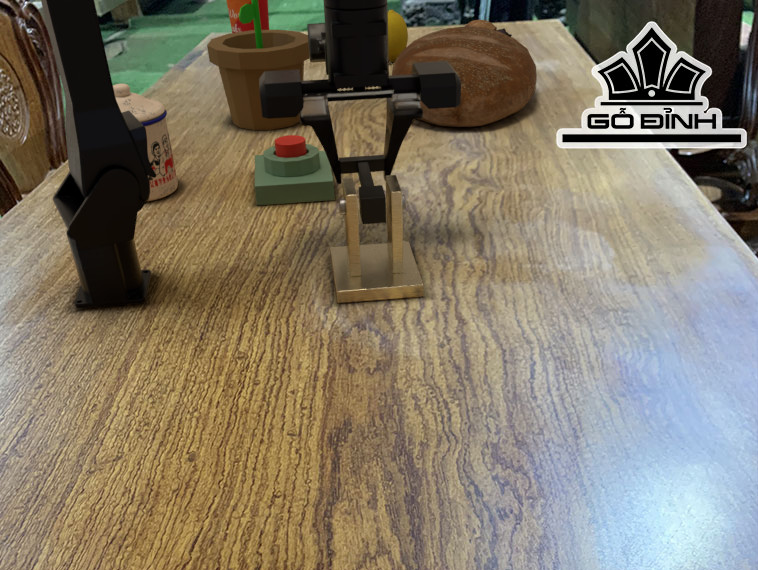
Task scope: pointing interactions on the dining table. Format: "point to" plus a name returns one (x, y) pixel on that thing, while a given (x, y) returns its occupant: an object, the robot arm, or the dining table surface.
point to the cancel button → (290, 146)
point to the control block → (293, 177)
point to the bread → (475, 73)
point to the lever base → (374, 253)
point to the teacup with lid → (152, 139)
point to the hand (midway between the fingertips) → (362, 181)
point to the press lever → (367, 186)
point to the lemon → (396, 35)
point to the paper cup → (235, 3)
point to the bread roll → (486, 25)
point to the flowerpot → (255, 66)
